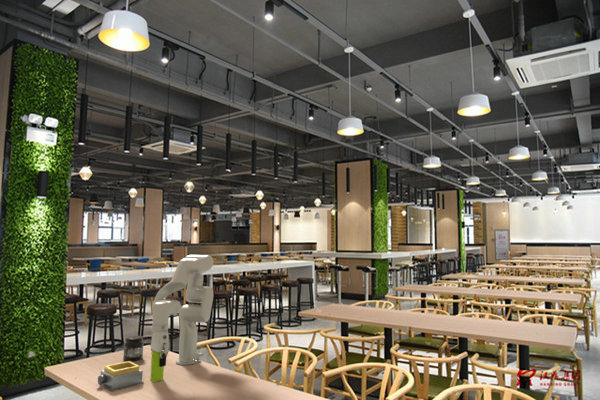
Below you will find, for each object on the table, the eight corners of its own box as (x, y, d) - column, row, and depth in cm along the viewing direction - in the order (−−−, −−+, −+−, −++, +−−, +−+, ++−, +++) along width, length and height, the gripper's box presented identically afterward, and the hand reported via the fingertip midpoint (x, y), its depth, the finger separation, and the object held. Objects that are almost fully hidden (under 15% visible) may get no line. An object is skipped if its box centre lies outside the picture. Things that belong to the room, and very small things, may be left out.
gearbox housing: (129, 376, 206) (130, 359, 207) (143, 383, 196) (144, 366, 197) (94, 384, 194) (95, 366, 195) (107, 392, 184) (108, 374, 185)
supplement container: (129, 355, 242) (130, 335, 243) (146, 356, 241) (147, 335, 242) (119, 361, 232) (120, 339, 233) (137, 361, 231) (138, 339, 232)
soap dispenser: (161, 382, 198) (163, 339, 200) (148, 381, 199) (150, 338, 201) (167, 378, 204) (169, 336, 206) (154, 377, 205) (156, 336, 207)
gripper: (176, 329, 201) (174, 366, 199) (158, 323, 213) (157, 359, 211) (161, 331, 195) (159, 370, 194) (144, 325, 207) (143, 362, 206)
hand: (158, 364), depth 202 cm, fingers open, 7 cm apart
